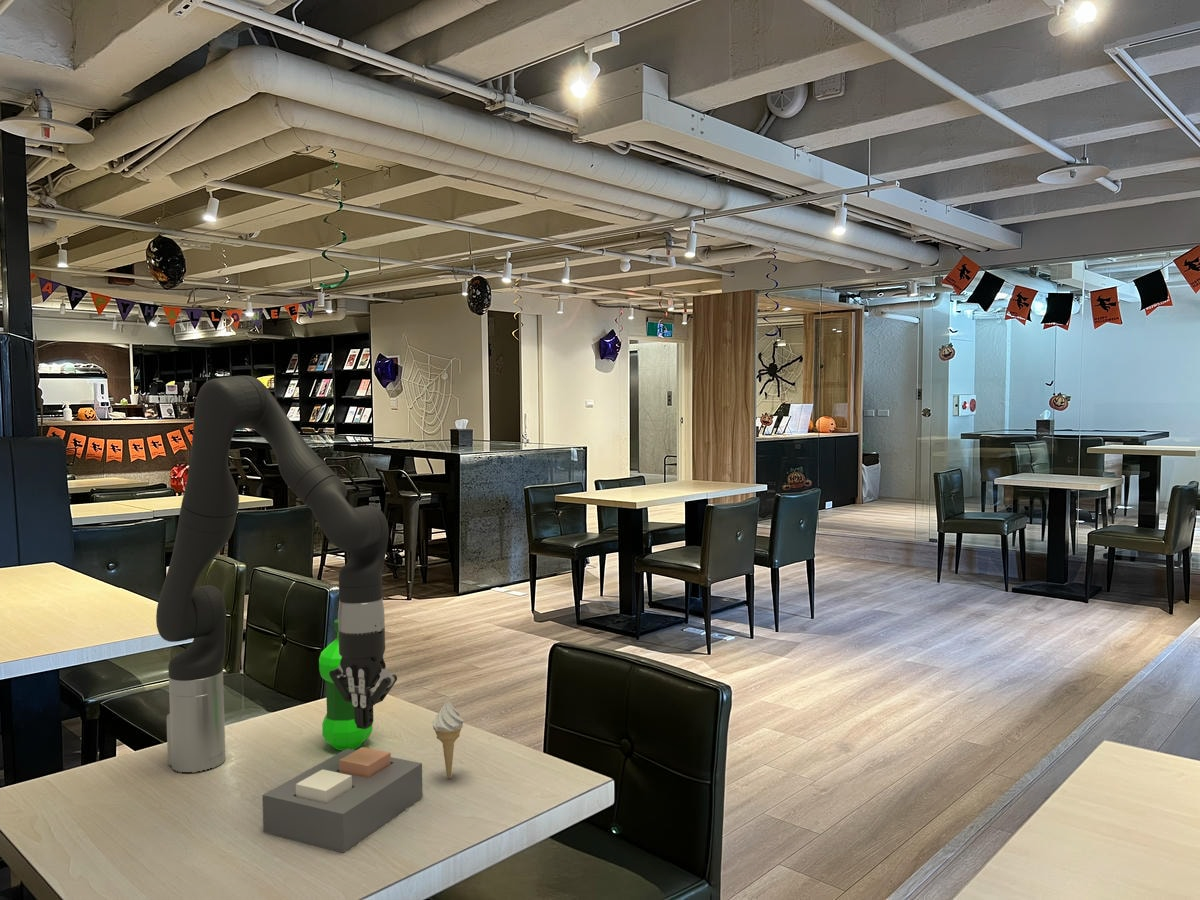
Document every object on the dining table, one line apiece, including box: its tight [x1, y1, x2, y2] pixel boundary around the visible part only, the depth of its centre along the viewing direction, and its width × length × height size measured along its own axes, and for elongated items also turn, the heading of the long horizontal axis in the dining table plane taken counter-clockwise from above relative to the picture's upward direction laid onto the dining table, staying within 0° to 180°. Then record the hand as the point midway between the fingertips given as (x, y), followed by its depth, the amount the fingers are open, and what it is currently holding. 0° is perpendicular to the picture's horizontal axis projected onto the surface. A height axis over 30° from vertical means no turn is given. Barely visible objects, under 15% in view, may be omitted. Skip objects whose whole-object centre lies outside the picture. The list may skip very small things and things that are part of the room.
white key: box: [296, 769, 352, 804], centre depth 139 cm, size 6×6×3 cm
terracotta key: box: [339, 746, 392, 778], centre depth 148 cm, size 6×6×3 cm
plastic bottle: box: [318, 618, 373, 752], centre depth 172 cm, size 10×10×25 cm
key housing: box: [261, 748, 423, 854], centre depth 144 cm, size 16×20×6 cm
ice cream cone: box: [431, 696, 464, 780], centre depth 157 cm, size 6×6×15 cm
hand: (364, 727), depth 147 cm, fingers closed
